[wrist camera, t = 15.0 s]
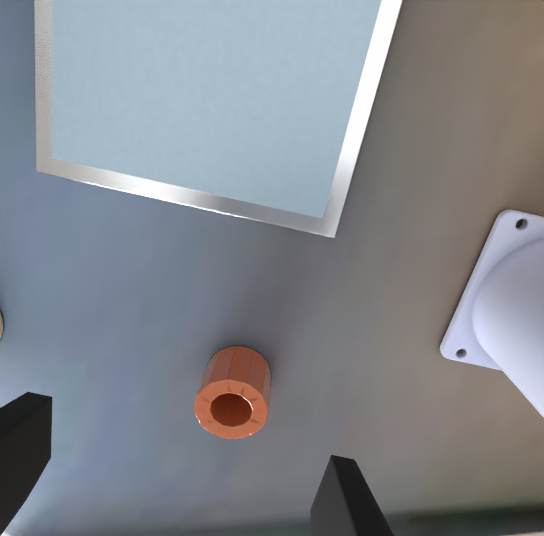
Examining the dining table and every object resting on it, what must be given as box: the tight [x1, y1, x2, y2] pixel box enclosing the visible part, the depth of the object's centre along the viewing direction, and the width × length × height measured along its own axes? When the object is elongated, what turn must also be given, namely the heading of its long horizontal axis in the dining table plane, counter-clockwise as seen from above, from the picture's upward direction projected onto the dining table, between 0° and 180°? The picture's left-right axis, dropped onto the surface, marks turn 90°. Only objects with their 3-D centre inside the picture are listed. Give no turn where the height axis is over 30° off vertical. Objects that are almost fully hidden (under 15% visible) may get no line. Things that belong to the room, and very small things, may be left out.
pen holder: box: [194, 346, 271, 439], centre depth 20 cm, size 4×4×3 cm
